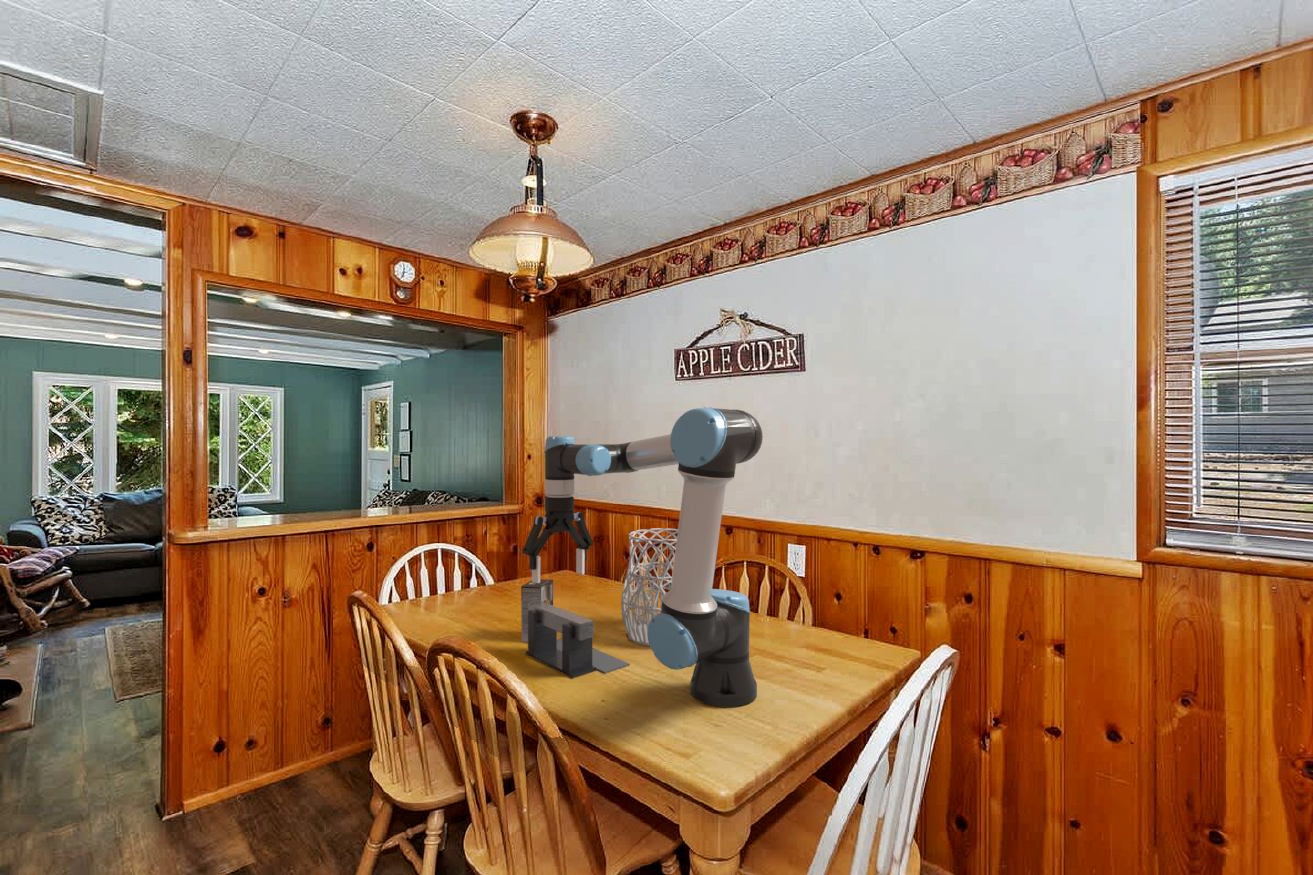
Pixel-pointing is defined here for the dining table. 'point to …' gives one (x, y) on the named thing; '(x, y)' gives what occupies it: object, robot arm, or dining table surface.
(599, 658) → the mat
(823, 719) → the dining table surface
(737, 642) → the robot arm
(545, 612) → the rail
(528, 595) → the coffee box
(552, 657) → the rack
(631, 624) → the vase
